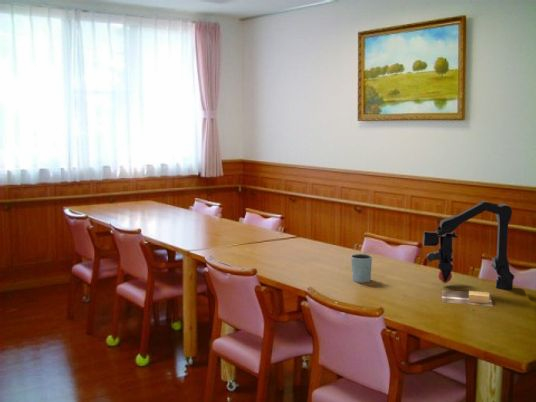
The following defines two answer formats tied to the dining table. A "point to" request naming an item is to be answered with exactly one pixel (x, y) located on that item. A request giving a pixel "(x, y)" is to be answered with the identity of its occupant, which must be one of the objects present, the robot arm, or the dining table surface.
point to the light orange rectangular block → (479, 297)
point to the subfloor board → (460, 298)
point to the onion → (442, 277)
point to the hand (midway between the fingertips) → (445, 279)
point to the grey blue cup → (361, 267)
